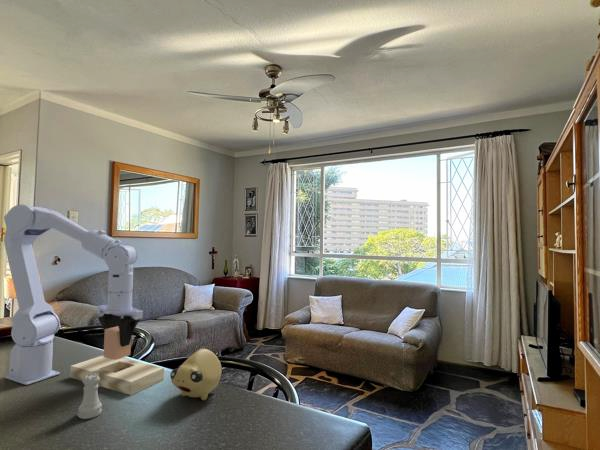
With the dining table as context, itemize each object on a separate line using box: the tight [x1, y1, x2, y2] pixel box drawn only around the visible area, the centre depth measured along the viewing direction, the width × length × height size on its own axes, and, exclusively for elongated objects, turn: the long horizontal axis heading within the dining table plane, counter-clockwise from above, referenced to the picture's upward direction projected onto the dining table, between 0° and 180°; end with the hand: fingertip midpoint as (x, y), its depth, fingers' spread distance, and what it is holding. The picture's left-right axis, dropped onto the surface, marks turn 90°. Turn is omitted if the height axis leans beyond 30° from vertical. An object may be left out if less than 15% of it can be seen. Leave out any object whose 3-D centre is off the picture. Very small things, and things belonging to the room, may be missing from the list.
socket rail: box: [69, 354, 165, 396], centre depth 91 cm, size 22×10×3 cm, turn 66°
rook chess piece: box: [76, 373, 103, 420], centre depth 73 cm, size 4×4×8 cm
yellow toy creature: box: [170, 348, 222, 401], centre depth 82 cm, size 10×12×11 cm
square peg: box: [103, 326, 132, 360], centre depth 92 cm, size 4×4×7 cm
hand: (118, 344), depth 92 cm, fingers closed on square peg, 4 cm apart
